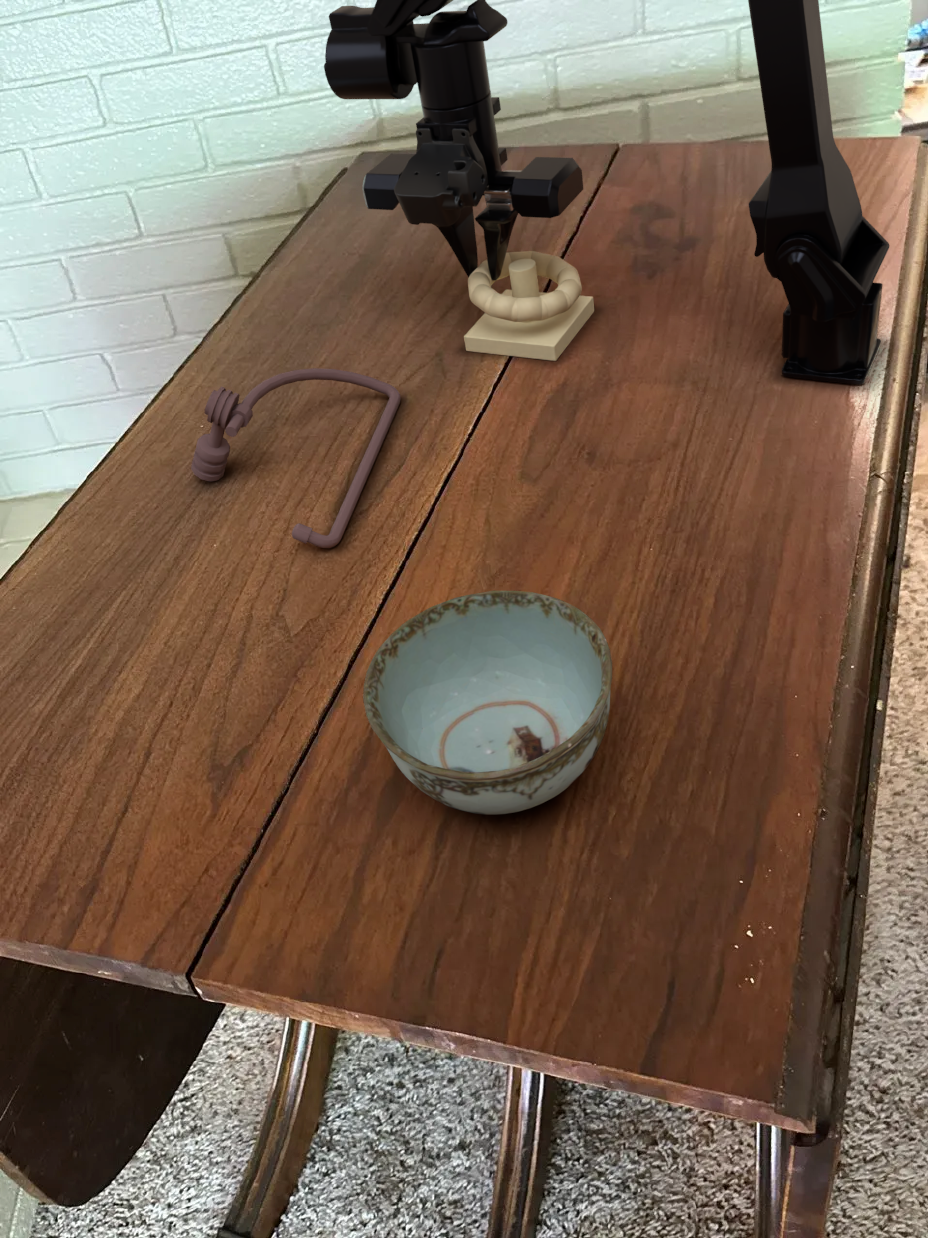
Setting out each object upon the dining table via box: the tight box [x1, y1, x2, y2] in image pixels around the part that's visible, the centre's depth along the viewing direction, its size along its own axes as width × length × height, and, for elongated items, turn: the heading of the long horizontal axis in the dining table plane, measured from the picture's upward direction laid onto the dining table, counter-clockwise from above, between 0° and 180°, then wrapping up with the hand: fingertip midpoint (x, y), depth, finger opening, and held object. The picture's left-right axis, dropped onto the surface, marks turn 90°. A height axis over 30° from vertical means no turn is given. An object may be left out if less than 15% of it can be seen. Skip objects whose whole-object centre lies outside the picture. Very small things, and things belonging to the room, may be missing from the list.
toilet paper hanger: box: [190, 367, 402, 549], centre depth 88 cm, size 22×8×14 cm
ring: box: [467, 250, 583, 322], centre depth 97 cm, size 10×10×2 cm
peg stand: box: [463, 259, 595, 362], centre depth 97 cm, size 9×9×6 cm
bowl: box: [362, 590, 613, 815], centre depth 60 cm, size 14×13×8 cm
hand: (484, 277), depth 98 cm, fingers closed on ring, 2 cm apart
